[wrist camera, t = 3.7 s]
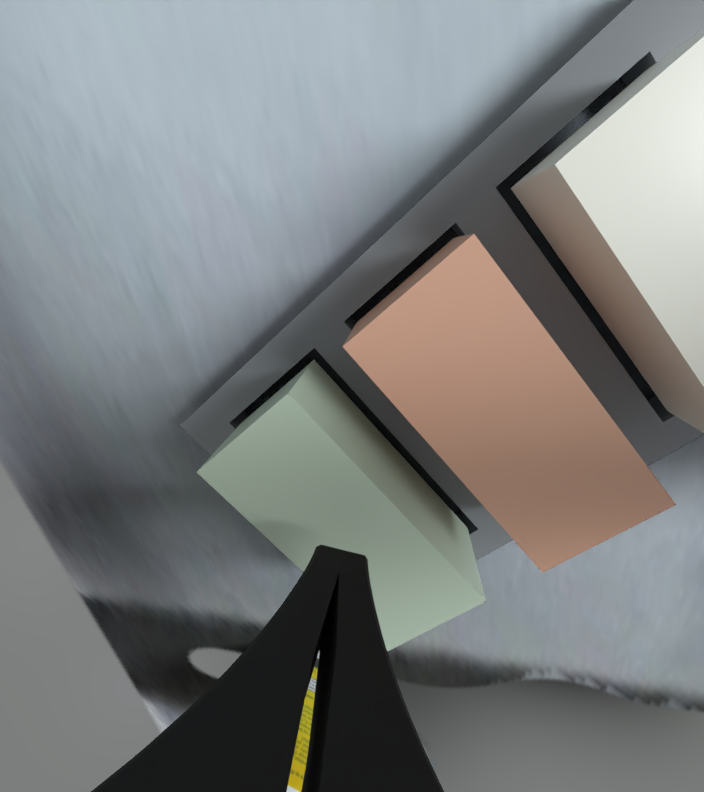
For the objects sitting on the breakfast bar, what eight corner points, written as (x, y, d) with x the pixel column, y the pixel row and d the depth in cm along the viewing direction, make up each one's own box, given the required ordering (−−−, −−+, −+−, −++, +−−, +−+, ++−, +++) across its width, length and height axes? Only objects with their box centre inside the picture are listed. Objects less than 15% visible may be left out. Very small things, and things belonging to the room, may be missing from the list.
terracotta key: (610, 444, 14) (676, 504, 11) (511, 502, 15) (542, 572, 12) (453, 237, 12) (474, 233, 9) (356, 322, 13) (342, 346, 10)
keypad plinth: (841, 320, 13) (895, 329, 12) (378, 588, 19) (377, 615, 18) (655, -18, 11) (693, -57, 9) (197, 411, 17) (179, 425, 16)
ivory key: (798, 334, 12) (947, 366, 9) (667, 410, 13) (755, 464, 10) (644, 71, 10) (759, -11, 7) (510, 187, 11) (554, 164, 8)
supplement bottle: (281, 625, 21) (211, 851, 13) (357, 666, 21) (333, 908, 14) (243, 673, 23) (161, 899, 15) (314, 710, 23) (270, 948, 15)
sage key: (467, 528, 16) (485, 601, 12) (390, 573, 17) (387, 651, 14) (314, 359, 14) (288, 393, 11) (240, 424, 15) (196, 472, 12)
